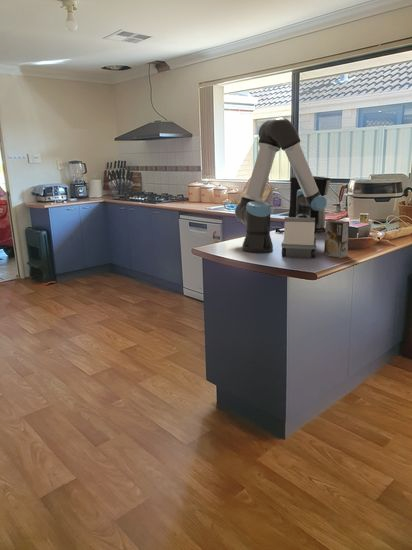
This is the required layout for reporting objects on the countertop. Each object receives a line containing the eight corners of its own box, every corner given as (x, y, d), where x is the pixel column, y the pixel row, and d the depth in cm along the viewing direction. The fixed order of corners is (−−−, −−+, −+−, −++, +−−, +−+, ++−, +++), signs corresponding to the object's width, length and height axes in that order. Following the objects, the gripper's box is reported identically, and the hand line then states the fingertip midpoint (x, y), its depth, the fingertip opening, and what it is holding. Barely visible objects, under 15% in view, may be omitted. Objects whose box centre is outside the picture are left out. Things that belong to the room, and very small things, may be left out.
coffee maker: (333, 230, 270) (337, 175, 262) (304, 237, 249) (307, 177, 240) (302, 226, 286) (305, 174, 277) (272, 232, 265) (274, 176, 256)
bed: (280, 257, 197) (281, 243, 196) (283, 251, 212) (284, 237, 210) (315, 259, 194) (316, 244, 192) (315, 252, 208) (316, 238, 206)
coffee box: (347, 256, 200) (350, 221, 196) (341, 258, 196) (343, 223, 192) (330, 253, 206) (332, 219, 202) (323, 255, 202) (325, 221, 198)
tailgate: (283, 246, 195) (284, 217, 192) (283, 245, 197) (285, 216, 194) (313, 247, 192) (315, 218, 189) (313, 246, 194) (315, 217, 191)
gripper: (314, 229, 222) (314, 237, 200) (289, 228, 225) (285, 236, 203) (315, 214, 220) (315, 221, 198) (289, 214, 223) (286, 220, 201)
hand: (300, 228), depth 201 cm, fingers closed
